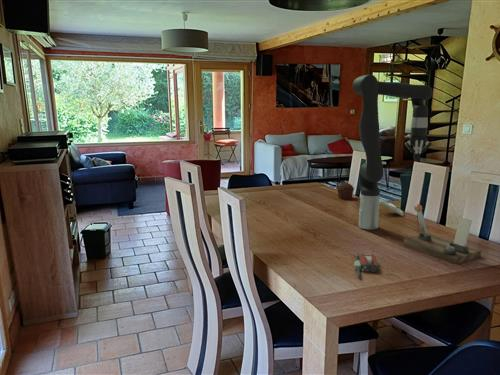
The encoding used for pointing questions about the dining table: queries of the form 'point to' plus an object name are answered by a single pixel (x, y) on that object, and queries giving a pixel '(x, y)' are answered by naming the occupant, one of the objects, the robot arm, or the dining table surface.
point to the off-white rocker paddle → (462, 232)
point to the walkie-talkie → (366, 263)
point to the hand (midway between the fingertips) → (416, 160)
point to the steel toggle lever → (421, 219)
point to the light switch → (391, 207)
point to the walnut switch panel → (442, 248)
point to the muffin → (345, 191)
